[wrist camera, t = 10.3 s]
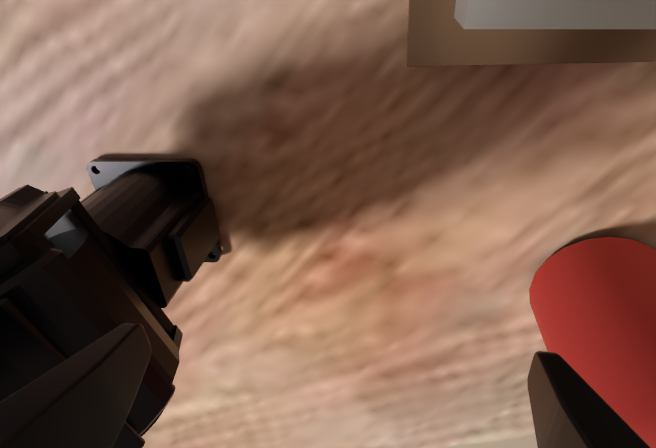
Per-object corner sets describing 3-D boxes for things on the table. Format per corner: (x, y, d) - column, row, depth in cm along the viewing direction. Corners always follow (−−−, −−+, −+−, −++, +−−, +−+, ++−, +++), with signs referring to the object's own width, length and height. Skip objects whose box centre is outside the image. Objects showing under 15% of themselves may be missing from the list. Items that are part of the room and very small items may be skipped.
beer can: (595, 207, 21) (777, 445, 11) (693, 271, 22) (946, 543, 12) (500, 291, 24) (569, 529, 14) (589, 342, 25) (713, 599, 15)
